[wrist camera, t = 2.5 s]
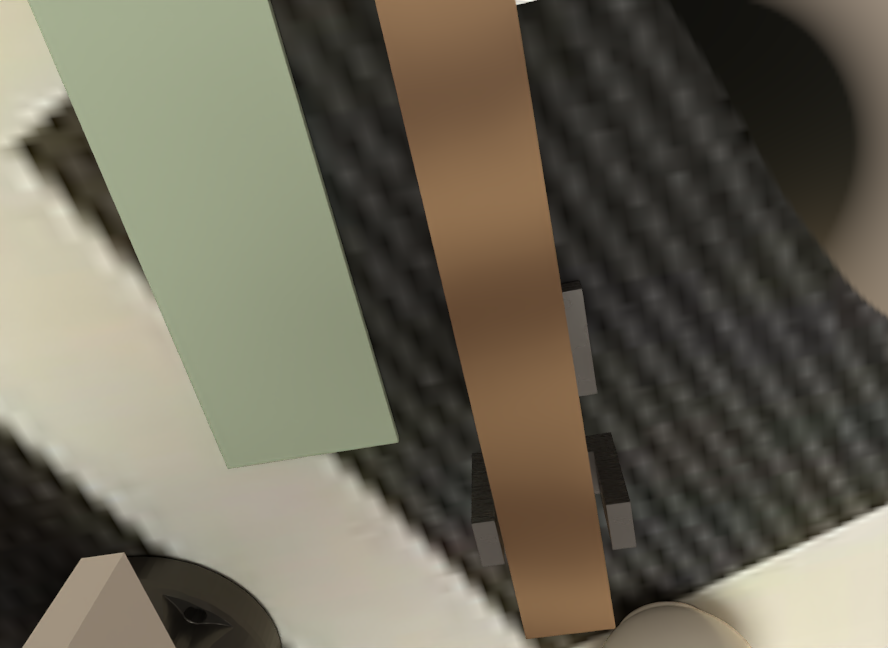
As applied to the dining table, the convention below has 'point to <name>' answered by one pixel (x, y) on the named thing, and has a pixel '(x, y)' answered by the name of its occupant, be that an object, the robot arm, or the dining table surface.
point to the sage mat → (226, 217)
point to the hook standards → (598, 447)
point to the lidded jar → (673, 629)
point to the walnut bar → (503, 294)
